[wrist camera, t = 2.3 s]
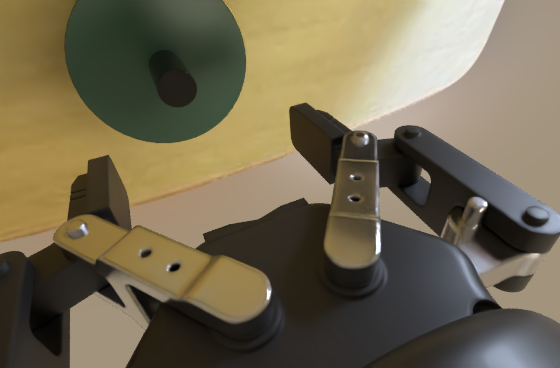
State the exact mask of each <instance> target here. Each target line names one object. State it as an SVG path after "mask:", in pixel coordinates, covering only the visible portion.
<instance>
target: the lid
mask: <svg viewBox="0 0 560 368" xmlns="http://www.w3.org/2000/svg"><path fill="white" fill-rule="evenodd" d="M65 57H66V64H67V67H68V71H69V75H70V77H71V80H72V82H73V85H74V87H75V88H76V90H77V92H78V94H79V96H80V97H81V99H82V100H83V101H84V103H85V104H86V105H87V107H88V108H89V109H90V110H91V111H92V112H93V113H94V114H95V115H96V116H97V117H98V118H99V119H101V120H102V121H103V122H104V123H106V124H107V125H109V126H110V127H112V128H113V129H115V130H117V131H119V132H121V133H123V134H125V135H127V136H130V137H132V138H135V139H139V140H143V141H147V142H154V143H173V142H180V141H185V140H189V139H192V138H195V137H197V136H199V135H202V134H204V133H206V132H207V131H209V130H210V129H212V128H213V127H215V126H216V125H217V124H218V123H220V122H221V121H222V120H223V119H224V118H225V117H226V116H227V114H228V113H229V112H230V110H231V109H232V108H233V106H234V104H235V103H236V101H237V99H238V97H239V95H240V92H241V89H242V86H243V83H244V78H245V72H246V55H245V47H244V42H243V38H242V35H241V32H240V29H239V27H238V25H237V23H236V20H235V18H234V17H233V15H232V13H231V12H230V10H229V9H228V7H227V6H226V5H225V4H224V2H223V1H222V0H78V1H77V3H76V4H75V6H74V8H73V10H72V12H71V15H70V18H69V20H68V24H67V28H66V33H65Z"/></svg>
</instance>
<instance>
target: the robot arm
mask: <svg viewBox="0 0 560 368" xmlns="http://www.w3.org/2000/svg"><path fill="white" fill-rule="evenodd" d="M289 114H290V130H291V140H292V143H293V145H294V147H295V149H296V150H297V151H298V152H299V153H300V154H301V155H302V156H303V157H304V158H305V159H306V160H307V161H308V162H309V163H310V164H311V165H312V166H313V167H314V168H315V169H316V170H317V171H318V173H320V175H321V176H322V177H323V178H324V179H325V180H326V181H327V182H328V183H329V184H333V183H335V184H334V190H333V196H332V202H331V204H324V203H314V204H308V203H307V201H306V200H305V199H304V198H302V199H299V200H296V201H293V202H290V203H288V204H285V205H282V206H280V207H278V208H277V209H275V210H273V211H272V212H270V213H268V214H267V215H265V216H264V217H262V218H260V219H258V220H253V221H247V222H241V223H235V224H229V225H226V226H224V227H221V228H218V229H215V230H212V231H210V232H207V233H204V234H203V236H204V239H205V242H204V243H202V244H201V245H200V246H198V247H197V248H196V249H194V248H191V247H189V246H187V245H184V244H182V243H180V242H177V241H175V240H173V239H170V238H168V237H166V236H163V235H161V234H159V233H156V232H154V231H152V230H149V229H147V228H145V227H142V226H139V225H137V226H135V227H134V228H133V229H132V228H131V219H130V210H129V200H128V196H127V192H126V189H125V187H124V185H123V183H122V181H121V178H120V176H119V174H118V172H117V170H116V168H115V166H114V164H113V162H112V160H111V158H110V156H109V155H106V156H102V157H99V158H95V159H91V160H88V171H87V174H83V175H80V176H78V177H77V178H76V180H75V181H74V182H73V184H72V186H71V195H70V203H69V211H68V219H67V221H66V222H65V223H63V224H62V225H61V226H60V227H59V228H58V229H57V230H56V232H55V233H54V236H53V240H54V243H53V244H51V245H50V246H48V247H46V248H45V249H43V250H41V251H39V252H37V253H35V254H33V255H31V256H30V257H28V258H27V257H26V256H25V255H24V254H23V253H22V252H19V251H10V252H6V253H2V254H0V368H70V308H71V307H73V306H74V305H76V304H77V303H79V302H81V301H82V300H84V299H85V298H87V297H88V296H90V295H92V294H94V295H96V296H97V297H99V298H101V299H102V300H104V301H106V302H107V303H109V304H111V305H112V306H114V307H116V308H117V309H119V310H121V311H122V312H124V313H125V314H127V315H129V316H130V317H131V318H132V319H134V320H135V321H136V322H137V323H138V324H139V325H140V326H141V327H142V328H143V329H144V330H145V333H144V334H143V336H142V338H141V340H140V342H139V344H138V346H137V347H136V349H135V351H134V353H133V355H132V357H131V359H130V361H129V362H128V364H127V366H126V368H560V324H559V323H557V322H556V321H554V320H552V319H551V318H548V317H546V316H544V315H542V314H539V313H536V312H533V311H528V310H522V309H502V308H501V307H500V306H499V305H498V304H497V302H496V301H495V300H494V299H493V298H492V296H491V295H490V293H489V292H488V290H487V289H486V288H488V287H490V286H494V287H496V288H498V289H500V290H503V291H507V292H519V291H521V290H523V289H524V288H525V287H526V285H527V284H528V282H529V281H530V279H531V278H532V276H533V275H534V273H535V272H536V270H537V269H538V267H539V266H540V264H541V263H542V261H543V260H544V258H545V257H546V256H547V254H548V253H549V251H550V249H551V248H552V247H553V245H554V244H555V242H556V240H557V239H558V237H559V236H560V214H559V213H557V212H556V211H555V210H553V209H552V208H550V207H548V206H547V205H545V204H543V203H542V202H540V201H539V200H537V199H536V198H534V197H532V196H531V195H529V194H528V193H526V192H524V191H523V190H521V189H520V188H518V187H516V186H515V185H513V184H512V183H510V182H509V181H507V180H505V179H504V178H502V177H501V176H499V175H497V174H496V173H494V172H493V171H491V170H489V169H488V168H486V167H485V166H483V165H482V164H480V163H478V162H477V161H475V160H474V159H472V158H470V157H469V156H467V155H466V154H464V153H462V152H461V151H459V150H458V149H456V148H454V147H453V146H451V145H450V144H448V143H447V142H445V141H443V140H442V139H440V138H439V137H437V136H435V135H434V134H432V133H431V132H429V131H427V130H426V129H424V128H422V127H418V126H410V125H407V126H401V127H399V128H397V129H396V130H395V134H394V138H391V139H381V140H377V137H376V136H375V135H374V134H372V133H370V132H367V131H351V130H350V129H349V128H347V127H346V126H345V125H343V124H342V123H341V122H339V121H338V120H336V119H335V118H334V117H332V116H331V115H330V114H328V113H326V112H323V111H320V110H315V109H314V108H312V107H311V106H310V105H309V104H307V103H302V104H298V105H295V106H291V107H290V110H289ZM422 168H423V169H424V170H426V171H427V172H428V174H429V175H430V178H431V184H430V183H429V182H428V181H426V180H425V179H424V178H423V177H421V176H420V175H421V171H422ZM381 187H388V188H389V189H390V190H391V191H392V192H393V193H394V194H395V195H396V196H397V197H398V198H399V199H400V200H401V201H402V202H403V203H404V204H405V205H407V206H408V207H409V208H410V209H411V210H412V211H413V212H414V213H415V214H416V215H417V216H418V217H419V218H420V219H421V220H422V221H423V222H425V223H426V224H427V225H428V226H429V227H430V228H431V229H432V230H433V231H434V232H435V233H436V234H437V235H438V236H439V237H437V236H434V235H431V234H427V233H424V232H421V231H418V230H414V229H411V228H408V227H405V226H401V225H398V224H395V223H392V222H388V221H385V220H382V219H380V216H379V188H381Z"/></svg>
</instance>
